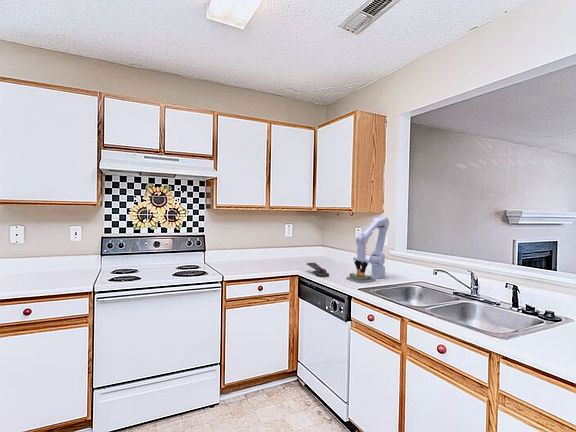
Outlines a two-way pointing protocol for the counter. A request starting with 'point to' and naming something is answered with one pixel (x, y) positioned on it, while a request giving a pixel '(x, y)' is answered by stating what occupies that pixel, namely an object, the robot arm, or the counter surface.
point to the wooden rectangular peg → (360, 273)
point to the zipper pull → (318, 270)
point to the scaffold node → (360, 278)
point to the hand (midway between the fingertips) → (360, 272)
